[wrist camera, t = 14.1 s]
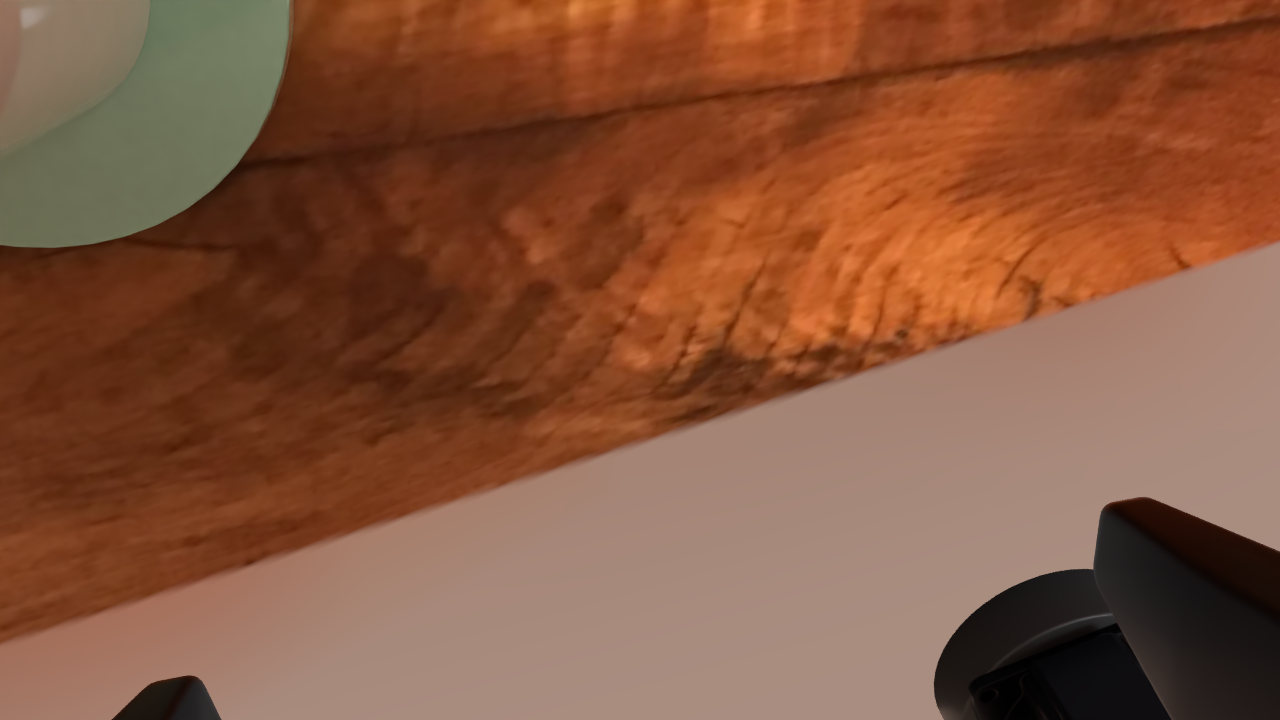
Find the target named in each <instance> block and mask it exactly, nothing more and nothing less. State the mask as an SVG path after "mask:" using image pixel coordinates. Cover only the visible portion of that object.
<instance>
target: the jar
mask: <svg viewBox="0 0 1280 720" xmlns="http://www.w3.org/2000/svg"><path fill="white" fill-rule="evenodd" d="M149 12H150V0H0V159H1V158H3V157H5V156H6V155H8V154H10V153H12V152H14V151H16V150H18V149H19V148H21V147H23V146H25V145H27V144H29V143H31V142H32V141H34V140H36V139H38V138H40V137H42V136H44V135H45V134H47V133H49V132H51V131H53V130H55V129H57V128H58V127H60V126H62V125H64V124H66V123H68V122H70V121H71V120H73V119H75V118H77V117H79V116H81V115H83V114H84V113H86V112H88V111H90V110H91V109H93V108H95V107H97V106H98V105H99V104H100V103H102V102H103V101H104V100H105V99H107V98H108V97H109V96H111V95H112V94H113V92H114V91H115V90H116V89H117V88H118V87H119V86H120V85H121V84H122V83H123V81H124V80H125V79H126V77H127V76H128V74H129V72H130V71H131V69H132V68H133V66H134V65H135V63H136V60H137V58H138V56H139V53H140V51H141V49H142V47H143V43H144V39H145V35H146V32H147V28H148V20H149Z"/></svg>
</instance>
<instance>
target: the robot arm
mask: <svg viewBox="0 0 1280 720" xmlns="http://www.w3.org/2000/svg"><path fill="white" fill-rule="evenodd" d="M1094 577H1095V581H1096V584H1097V586H1098V589H1099V591H1100V593H1101V595H1102V597H1103V598H1104V600H1105V602H1106V604H1107V606H1108V607H1109V609H1110V611H1111V613H1112V615H1113V616H1114V618H1115V620H1116V622H1117V623H1114V624H1112V625H1109V626H1107V627H1104V628H1102V629H1099V630H1097V631H1094V632H1091V633H1089V634H1086V635H1084V636H1081V637H1079V638H1076V639H1073V640H1071V641H1068V642H1066V643H1063V644H1061V645H1058V646H1056V647H1053V648H1050V649H1048V650H1045V651H1043V652H1040V653H1038V654H1035V655H1033V656H1030V657H1027V658H1025V659H1022V660H1020V661H1017V662H1015V663H1012V664H1009V665H1007V666H1004V667H1002V668H999V669H997V670H994V671H992V672H989V673H986V674H984V675H981V676H979V677H977V678H975V679H974V680H973V681H972V682H971V683H970V684H969V687H968V694H969V697H970V700H971V703H972V706H973V709H974V712H975V715H976V718H977V720H1280V551H1277V550H1275V549H1272V548H1270V547H1268V546H1265V545H1263V544H1260V543H1258V542H1255V541H1253V540H1251V539H1248V538H1246V537H1243V536H1241V535H1238V534H1236V533H1234V532H1231V531H1229V530H1226V529H1224V528H1222V527H1219V526H1217V525H1214V524H1212V523H1210V522H1207V521H1205V520H1202V519H1200V518H1198V517H1195V516H1193V515H1190V514H1188V513H1185V512H1183V511H1180V510H1178V509H1176V508H1173V507H1171V506H1169V505H1166V504H1164V503H1161V502H1159V501H1156V500H1154V499H1151V498H1147V497H1138V498H1133V499H1127V500H1122V501H1117V502H1112V503H1109V504H1107V505H1106V506H1105V507H1104V508H1103V510H1102V511H1101V515H1100V520H1099V528H1098V535H1097V542H1096V550H1095V557H1094ZM112 720H221V718H220V716H219V714H218V712H217V710H216V708H215V706H214V704H213V702H212V700H211V698H210V696H209V694H208V692H207V689H206V688H205V686H204V684H203V682H202V681H201V680H200V679H199V678H197V677H195V676H182V677H177V678H172V679H167V680H161V681H157V682H154V683H151V684H150V685H148V686H147V687H146V688H144V689H143V690H142V691H141V692H140V693H139V694H138V695H137V696H136V697H135V698H134V699H133V700H132V701H131V702H130V703H129V704H128V705H126V706H125V708H123V709H122V710H121V711H120V712H119V713H118V714H117V715H116V716H115V717H114V718H113V719H112Z"/></svg>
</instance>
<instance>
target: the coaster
mask: <svg viewBox="0 0 1280 720" xmlns="http://www.w3.org/2000/svg"><path fill="white" fill-rule="evenodd" d="M293 18H294V0H150V12H149V20H148V28H147V32H146V35H145V39H144V43H143V47H142V49H141V51H140V53H139V56H138V58H137V60H136V63H135V65H134V66H133V68H132V69H131V71H130V72H129V74H128V76H127V77H126V79H125V80H124V81H123V83H122V84H121V85H120V86H119V87H118V88H117V89H116V90H115V91H114V92H113V94H112V95H111V96H109V97H108V98H107V99H105V100H104V101H103V102H102V103H100V104H99V105H98V106H97V107H95V108H93V109H91V110H90V111H88V112H86V113H84V114H83V115H81V116H79V117H77V118H75V119H73V120H71V121H70V122H68V123H66V124H64V125H62V126H60V127H58V128H57V129H55V130H53V131H51V132H49V133H47V134H45V135H44V136H42V137H40V138H38V139H36V140H34V141H32V142H31V143H29V144H27V145H25V146H23V147H21V148H19V149H18V150H16V151H14V152H12V153H10V154H8V155H6V156H5V157H3V158H1V159H0V245H6V246H14V247H41V248H59V247H69V246H80V245H90V244H96V243H100V242H104V241H109V240H113V239H118V238H122V237H126V236H129V235H132V234H135V233H137V232H140V231H143V230H145V229H148V228H151V227H153V226H156V225H159V224H160V223H162V222H164V221H166V220H168V219H170V218H172V217H173V216H175V215H177V214H179V213H181V212H183V211H184V210H186V209H188V208H189V207H191V206H192V205H193V204H195V203H196V202H197V201H199V200H200V199H201V198H203V197H204V196H205V195H207V194H208V193H209V192H210V191H212V190H213V189H214V188H215V187H216V186H217V185H218V184H219V183H220V182H221V181H222V180H223V179H224V178H225V177H226V176H227V175H228V174H229V173H230V172H231V171H232V170H233V169H234V168H235V167H236V166H237V165H238V164H239V163H240V162H241V161H242V159H243V158H244V156H245V155H246V154H247V152H248V151H249V149H250V148H251V147H252V145H253V144H254V142H255V141H256V140H257V138H258V137H259V135H260V134H261V132H262V130H263V128H264V126H265V124H266V122H267V120H268V118H269V116H270V114H271V112H272V110H273V108H274V106H275V104H276V101H277V98H278V95H279V92H280V89H281V86H282V83H283V80H284V77H285V74H286V71H287V65H288V60H289V54H290V48H291V42H292V37H293Z"/></svg>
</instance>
